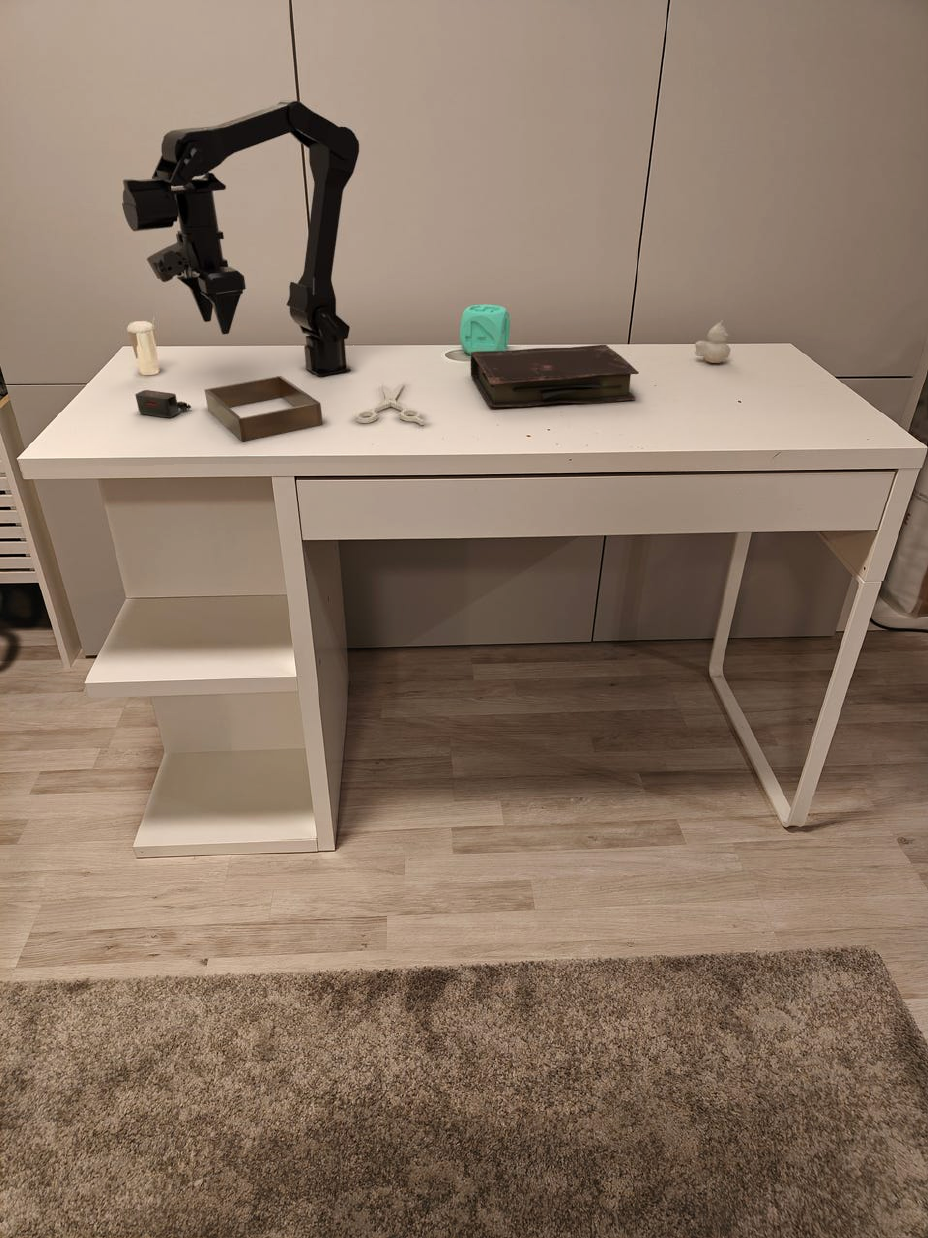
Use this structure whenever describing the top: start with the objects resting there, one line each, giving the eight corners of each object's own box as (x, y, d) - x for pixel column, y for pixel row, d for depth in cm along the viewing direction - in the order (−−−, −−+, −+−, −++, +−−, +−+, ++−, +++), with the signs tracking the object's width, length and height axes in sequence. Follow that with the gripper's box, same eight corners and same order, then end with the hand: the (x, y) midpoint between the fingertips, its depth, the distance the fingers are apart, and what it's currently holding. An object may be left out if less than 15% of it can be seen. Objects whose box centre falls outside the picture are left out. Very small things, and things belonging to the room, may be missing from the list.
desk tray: (283, 395, 141) (281, 375, 140) (322, 424, 130) (320, 402, 128) (208, 410, 136) (204, 389, 134) (242, 441, 124) (238, 419, 122)
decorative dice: (499, 358, 159) (500, 315, 154) (459, 355, 160) (459, 312, 156) (509, 347, 165) (510, 305, 160) (471, 344, 167) (471, 302, 162)
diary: (470, 376, 150) (470, 348, 147) (602, 368, 153) (605, 341, 150) (490, 412, 134) (491, 381, 132) (637, 402, 138) (640, 372, 135)
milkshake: (159, 377, 150) (147, 320, 144) (132, 375, 151) (119, 319, 145) (171, 369, 153) (160, 314, 148) (145, 368, 154) (133, 312, 149)
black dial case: (174, 419, 132) (170, 400, 130) (138, 414, 134) (133, 394, 132) (192, 410, 136) (188, 390, 134) (156, 405, 138) (152, 385, 136)
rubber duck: (731, 366, 154) (738, 322, 150) (695, 366, 154) (702, 322, 150) (724, 358, 159) (732, 314, 154) (690, 357, 159) (696, 314, 154)
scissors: (355, 422, 129) (362, 380, 145) (356, 426, 129) (362, 384, 145) (423, 420, 129) (422, 379, 145) (423, 425, 129) (423, 383, 146)
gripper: (130, 220, 131) (151, 322, 140) (163, 238, 118) (184, 348, 127) (199, 214, 136) (216, 313, 145) (238, 230, 123) (254, 337, 132)
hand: (216, 327), depth 137 cm, fingers open, 9 cm apart
